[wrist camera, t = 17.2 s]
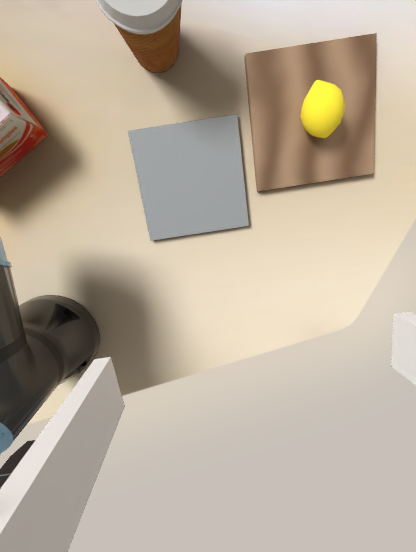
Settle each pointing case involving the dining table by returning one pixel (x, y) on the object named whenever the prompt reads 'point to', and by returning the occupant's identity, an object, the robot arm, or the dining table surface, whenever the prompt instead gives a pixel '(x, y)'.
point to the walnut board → (288, 103)
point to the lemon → (322, 109)
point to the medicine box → (16, 129)
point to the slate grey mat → (190, 176)
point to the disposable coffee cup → (147, 29)
